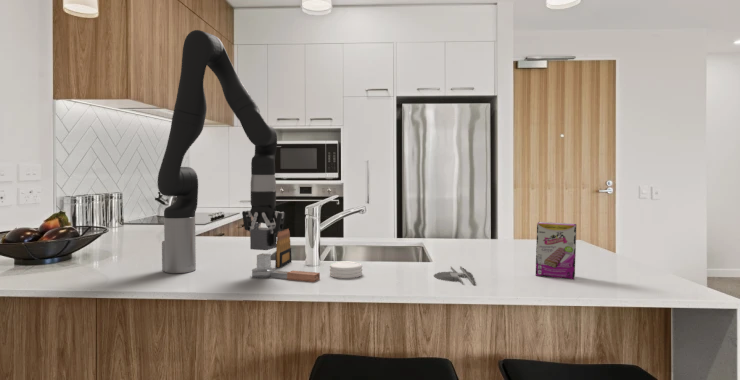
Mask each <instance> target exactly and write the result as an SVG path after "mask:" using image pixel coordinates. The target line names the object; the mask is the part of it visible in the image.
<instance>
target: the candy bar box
mask: <svg viewBox="0 0 740 380" xmlns="http://www.w3.org/2000/svg"><path fill="white" fill-rule="evenodd" d="M535 247H536V250H535V252H536V253H535V254H536V255H535V276H536V277H537V276H538V277H545V278H556V279H567V280H575V277H576V256H577V254H576V253H577V252H576V250H577V248H576V247H577V223H566V222H552V221H538V222H537V223H536V246H535Z"/></svg>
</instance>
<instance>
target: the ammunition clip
mask: <svg viewBox="0 0 740 380" xmlns="http://www.w3.org/2000/svg"><path fill="white" fill-rule="evenodd" d="M289 229H290V228H286V229H283V230H282V231H280V232H277V242H276V248H275V249H276V251H275V260H274V261H275V266H274V268H275V269H282V268H283V267H286V266H287V265H288V264H290V263H292V247H291V234H290V233H291V232H290V230H289Z"/></svg>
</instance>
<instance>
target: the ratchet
mask: <svg viewBox="0 0 740 380" xmlns="http://www.w3.org/2000/svg"><path fill="white" fill-rule="evenodd" d="M271 259H272V255H271V253H259V254H256V267H255V268H252V270H251V277H252V278H254V279H258V280H259V279H260V280H261V279H281V280H282V279H283V280H289V281H290V280H291V281H298V282H299V281H300V282H301V281H302V282H312V283H315V282H317V281H319V280H320V278H321V276H320V272H318V271H317V272H313V271H301V270H290V271H286V270H285V271H283V270H276V269H277V268H275V267H272V264H271V263H272V261H271Z"/></svg>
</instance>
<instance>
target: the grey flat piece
mask: <svg viewBox="0 0 740 380" xmlns="http://www.w3.org/2000/svg"><path fill="white" fill-rule="evenodd" d="M459 270H461V272H458V271H457V270H456V269H455V268H454V267H452V266H450V271H441V272H440V271H439V272H437V273H434V274H433V277H434V278H436V279H437V280H440V281H445V282H452V283H453V282H455V283H458V282H459V283H460V284H461V285H464V281H463V280H462V279H461V278H463V279H464V278H465V279H467V280H468V281H469V282H470V283H471V285H472V286H476V280H475V278H474V275H473V273H472V272H470V271H468V270H467V269H466V268H464V267H463V266H459Z"/></svg>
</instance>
